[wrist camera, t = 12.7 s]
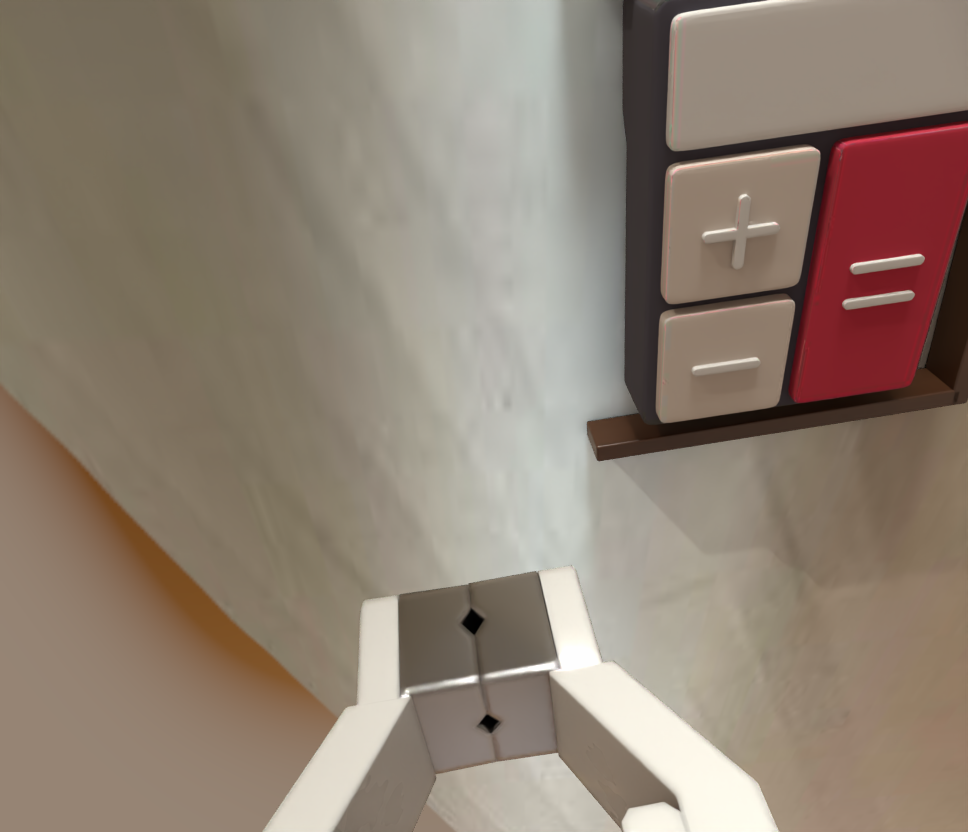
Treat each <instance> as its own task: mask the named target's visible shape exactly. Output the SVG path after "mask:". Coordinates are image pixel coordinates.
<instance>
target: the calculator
mask: <svg viewBox="0 0 968 832" xmlns="http://www.w3.org/2000/svg"><path fill="white" fill-rule="evenodd" d="M623 116H624V125H625V133H626V141H627V175H626V280H625V383H626V385H627V388H628V390H629V392H630V394H631V397H632V399H633V401H634V403H635V405H636V407H637V410H638V412H639V414H640V416H641V418H642V420H643V421H644V422H645V423H646V424H648V425H658V424H665V423H672V422H679V421H685V420H692V419H699V418H705V417H712V416H719V415H725V414H732V413H739V412H745V411H752V410H759V409H766V408H772V407H778V406H785V405H792V404H798V403H806V402H813V401H819V400H826V399H833V398H839V397H846V396H853V395H859V394H866V393H873V392H880V391H886V390H893V389H900V388H904V387H907V386H909V385H910V384H911V383H912V381H913V379H914V377H915V374H916V371H917V367H918V364H919V361H920V357H921V354H922V351H923V347H924V344H925V341H926V338H927V334H928V331H929V328H930V324H931V321H932V318H933V314H934V311H935V308H936V304H937V301H938V298H939V295H940V291H941V288H942V285H943V281H944V278H945V275H946V271H947V268H948V265H949V261H950V258H951V255H952V252H953V248H954V245H955V242H956V238H957V235H958V232H959V228H960V225H961V222H962V219H963V215H964V212H965V209H966V205H967V202H968V0H623Z"/></svg>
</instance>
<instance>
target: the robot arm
mask: <svg viewBox="0 0 968 832" xmlns="http://www.w3.org/2000/svg"><path fill="white" fill-rule="evenodd" d="M552 753H558V754H559V757H560V758H561V759H562V760H563V761H564V763H565V764H566V765H567V766H568V767H569V768H570V770H571V771H572V772H573V773H574V774H575V775H576V777H577V778H578V779H579V780H580V781H581V783H582V784H583V785H584V786H585V787H586V788H587V790H588V791H589V792H590V793H591V794H592V795H593V797H594V798H595V799H596V800H597V801H598V803H599V804H600V805H601V806H602V807H603V808H604V810H605V811H606V812H607V813H608V814H609V815H610V817H611V818H612V819H613V820H614V821H615V823H616V824H617V825H618V826H619V827H620V828H621V830H622V832H779V831H778V829H777V826H776V824H775V822H774V819H773V817H772V815H771V812H770V810H769V808H768V805H767V803H766V801H765V798H764V796H763V794H762V791H761V789H760V787H759V784H758V783H757V782H756V781H755V780H754V779H753V778H752V777H750V776H749V775H748V774H747V773H746V772H744V771H743V770H742V769H741V768H740V767H739V766H737V765H736V764H735V763H734V762H733V761H731V760H730V759H729V758H728V757H727V756H726V755H724V754H723V753H722V752H721V751H720V750H719V749H717V748H716V747H715V746H714V745H713V744H711V743H710V742H709V741H708V740H707V739H706V738H704V737H703V736H702V735H701V734H700V733H698V732H697V731H696V730H695V729H694V728H693V727H691V726H690V725H689V724H688V723H687V722H685V721H684V720H683V719H682V718H681V717H680V716H678V715H677V714H676V713H675V712H674V711H672V710H671V709H670V708H669V707H668V706H667V705H665V704H664V703H663V702H662V701H661V700H659V699H658V698H657V697H656V696H655V695H654V694H652V693H651V692H650V691H649V690H648V689H646V688H645V687H644V686H643V685H642V684H641V683H639V682H638V681H637V680H636V679H635V678H634V677H632V676H631V675H630V674H629V673H628V672H626V671H625V670H624V669H623V668H622V667H621V666H619V665H618V664H617V663H616V662H615V661H609V662H603V661H602V657H601V654H600V650H599V647H598V644H597V640H596V637H595V633H594V630H593V627H592V623H591V620H590V616H589V613H588V609H587V606H586V603H585V599H584V596H583V592H582V589H581V586H580V582H579V579H578V575H577V572H576V570H575V569H574V567H573V566H572V565H570V566H565V567H559V568H553V569H547V570H542V571H538V573H537V572H536V571H533V572H528V573H523V574H517V575H512V576H506V577H501V578H495V579H490V580H484V581H479V582H473V583H469V584H468V585H461V586H454V587H447V588H440V589H433V590H427V591H420V592H413V593H406V594H400V595H395V596H388V597H382V598H375V599H369V600H364V601H363V604H362V607H361V611H360V635H359V661H358V687H357V705H355V706H350V707H346V708H345V709H344V711H343V712H342V714H341V715H340V717H339V718H338V720H337V721H336V723H335V725H334V726H333V727H332V729H331V730H330V732H329V733H328V735H327V736H326V738H325V739H324V741H323V742H322V744H321V745H320V747H319V748H318V750H317V751H316V753H315V754H314V756H313V757H312V759H311V760H310V762H309V763H308V765H307V766H306V768H305V769H304V771H303V772H302V773H301V775H300V776H299V778H298V779H297V781H296V782H295V784H294V785H293V787H292V789H291V790H290V791H289V793H288V794H287V796H286V797H285V799H284V800H283V802H282V803H281V805H280V806H279V808H278V809H277V811H276V812H275V814H274V815H273V817H272V818H271V820H270V821H269V823H268V824H267V826H266V827H265V829H264V830H263V831H262V832H413V830H414V828H415V825H416V823H417V821H418V819H419V816H420V814H421V812H422V810H423V807H424V805H425V803H426V801H427V798H428V796H429V794H430V792H431V789H432V787H433V785H434V783H435V780H436V775H435V774H439V773H444V772H449V771H454V770H458V769H463V768H468V767H473V766H478V765H483V764H488V763H493V762H498V761H505V760H511V759H518V758H525V757H532V756H538V755H545V754H552Z"/></svg>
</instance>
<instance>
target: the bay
mask: <svg viewBox="0 0 968 832" xmlns="http://www.w3.org/2000/svg"><path fill="white" fill-rule="evenodd" d="M967 400H968V203H967V207H966V211H965V215H964V219H963V222H962V226H961V230H960V234H959V238H958V242H957V246H956V250H955V254H954V258H953V262H952V266H951V270H950V274H949V278H948V282H947V286H946V290H945V294H944V297H943V301H942V305H941V309H940V313H939V317H938V321H937V325H936V329H935V333H934V337H933V341H932V345H931V349H930V353H929V357H928V361H927V365H926V368H923V369H917V371H916V374H915V377H914V379H913V381H912V383H911V384H910V385H909V386H907V387H904V388H900V389H893V390H886V391H880V392H873V393H866V394H859V395H853V396H846V397H839V398H833V399H826V400H819V401H813V402H806V403H798V404H792V405H785V406H778V407H772V408H766V409H759V410H752V411H745V412H739V413H732V414H725V415H719V416H712V417H705V418H699V419H692V420H685V421H679V422H672V423H665V424H658V425H648V424H646V423H645V422H644V421H643V420H642V418H641V416H640V414H633V415H626V416H620V417H614V418H608V419H601V420H595V421H589V422H587V435H588V438H589V440H590V443H591V446H592V448H593V451H594V454H595V456H596V459H597V461H603V460H610V459H616V458H622V457H629V456H635V455H641V454H647V453H654V452H660V451H666V450H673V449H679V448H685V447H691V446H698V445H704V444H710V443H717V442H723V441H729V440H735V439H742V438H748V437H754V436H761V435H767V434H773V433H779V432H786V431H792V430H798V429H805V428H811V427H817V426H823V425H830V424H836V423H842V422H849V421H855V420H861V419H867V418H874V417H880V416H886V415H893V414H899V413H905V412H911V411H918V410H924V409H930V408H937V407H943V406H949V405H956V404H962V403H966V402H967Z"/></svg>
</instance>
